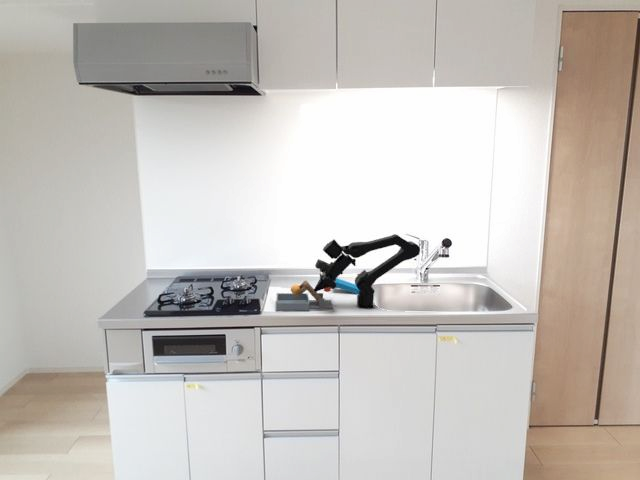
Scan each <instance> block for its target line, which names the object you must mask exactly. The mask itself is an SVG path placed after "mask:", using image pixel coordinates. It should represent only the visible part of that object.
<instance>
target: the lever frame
mask: <svg viewBox="0 0 640 480" xmlns="http://www.w3.org/2000/svg"><path fill="white" fill-rule="evenodd" d="M317 293H318V294H319V295H320V296H321V298H319V303H318V302H317V300H316V299H309V311H310V310H311V311H312V310H313V311H314V310H315V311H316V310H319V311H320V310H322V311H325V310H327V311H328V310H329V311H330V310H332V311H333V310H334V305H333V303H332V300H331V299H325V298H324V293H323V292H317Z"/></svg>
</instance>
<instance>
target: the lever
mask: <svg viewBox="0 0 640 480" xmlns="http://www.w3.org/2000/svg"><path fill="white" fill-rule="evenodd" d="M335 282H336V287H335V288H334V289H332V288H331V287H328V288H325V289H323V290H324V291H325V292H330V291H331V290H335V289H340V290H344V291H346V292H350V293H353V294H356V295H359V291H360V290H359V289H358V288H357V286H356V284H355V283H353V282H349V281H346V280H343V279H340V278H338V277H337V278H336V281H335Z"/></svg>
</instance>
